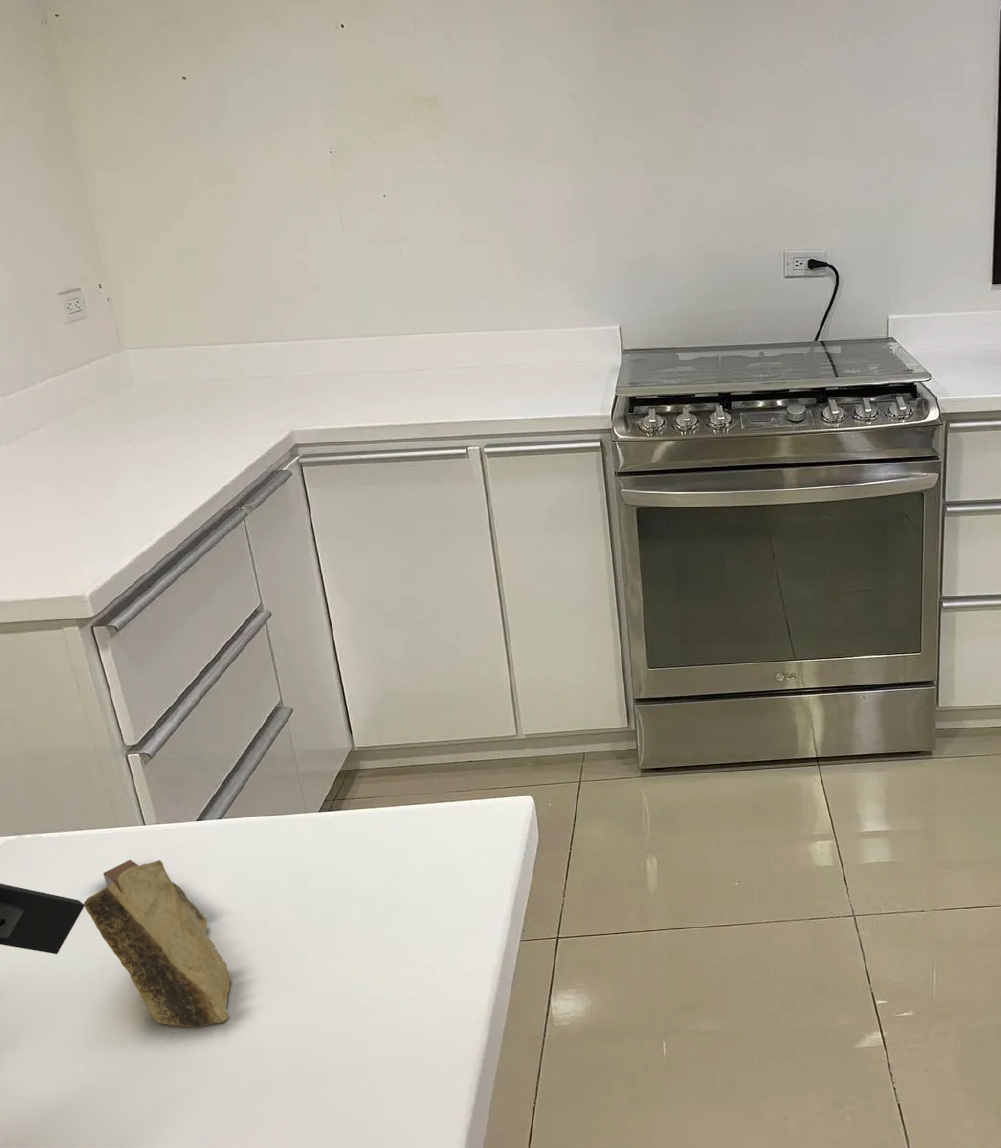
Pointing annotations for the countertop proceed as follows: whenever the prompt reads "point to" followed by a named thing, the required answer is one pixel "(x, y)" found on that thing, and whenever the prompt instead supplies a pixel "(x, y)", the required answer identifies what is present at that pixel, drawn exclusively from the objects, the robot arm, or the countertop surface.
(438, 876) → the countertop surface
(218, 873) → the countertop surface
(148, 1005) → the rock
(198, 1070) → the countertop surface
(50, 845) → the countertop surface
